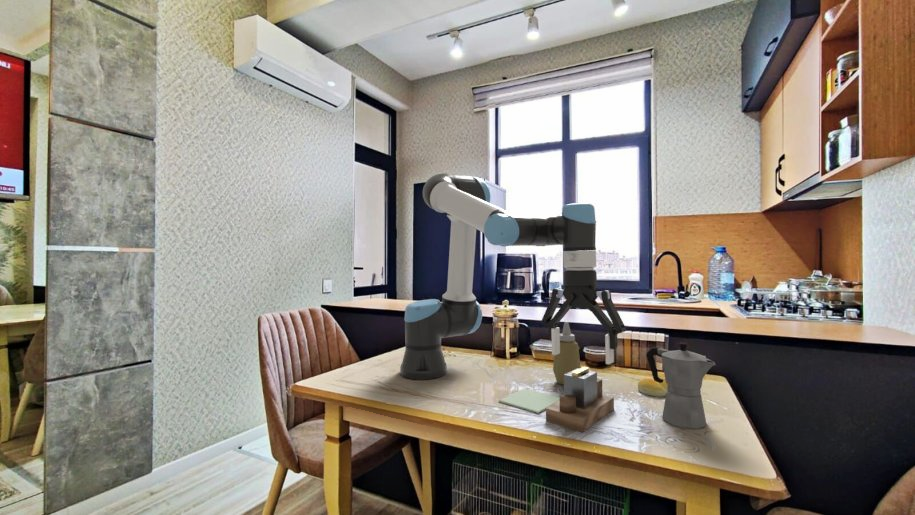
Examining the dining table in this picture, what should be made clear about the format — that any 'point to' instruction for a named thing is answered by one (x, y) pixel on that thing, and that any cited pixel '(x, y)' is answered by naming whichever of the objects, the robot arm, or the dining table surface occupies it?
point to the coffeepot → (682, 385)
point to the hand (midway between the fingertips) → (581, 358)
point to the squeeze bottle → (566, 355)
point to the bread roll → (653, 387)
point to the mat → (530, 400)
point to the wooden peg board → (579, 411)
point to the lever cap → (581, 386)
